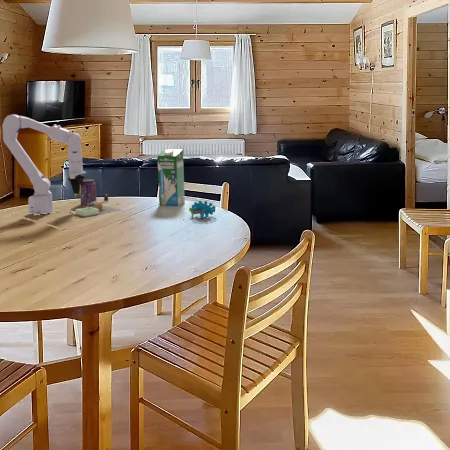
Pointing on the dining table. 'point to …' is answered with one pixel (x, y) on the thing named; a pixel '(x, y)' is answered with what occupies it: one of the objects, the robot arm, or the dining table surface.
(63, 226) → the dining table surface
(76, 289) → the dining table surface
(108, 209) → the base plate
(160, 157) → the milk carton
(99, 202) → the crank
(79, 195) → the brass pin
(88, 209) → the tray
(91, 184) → the beverage can
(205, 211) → the gear
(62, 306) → the dining table surface
